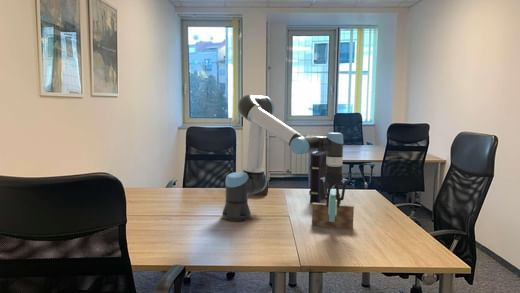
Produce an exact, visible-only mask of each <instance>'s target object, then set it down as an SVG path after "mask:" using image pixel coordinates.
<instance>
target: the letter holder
mask: <svg viewBox="0 0 520 293" xmlns="http://www.w3.org/2000/svg"><path fill="white" fill-rule="evenodd" d="M266 177H267V178H268V176H267V175H266ZM268 193H269V179H267V185H266V187H265V189H264V190H262V191H260V192H259V193H254V194H251V195H250V196H267V195H268Z"/></svg>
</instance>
